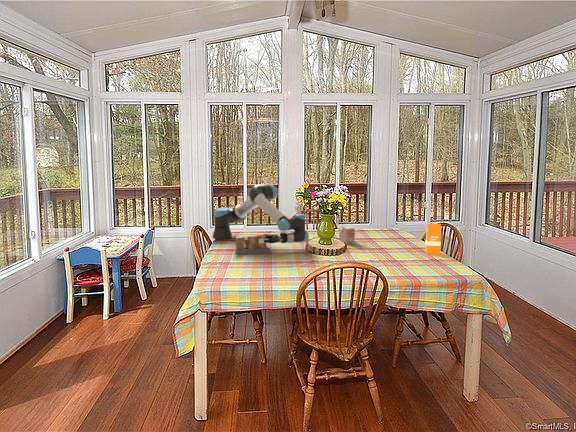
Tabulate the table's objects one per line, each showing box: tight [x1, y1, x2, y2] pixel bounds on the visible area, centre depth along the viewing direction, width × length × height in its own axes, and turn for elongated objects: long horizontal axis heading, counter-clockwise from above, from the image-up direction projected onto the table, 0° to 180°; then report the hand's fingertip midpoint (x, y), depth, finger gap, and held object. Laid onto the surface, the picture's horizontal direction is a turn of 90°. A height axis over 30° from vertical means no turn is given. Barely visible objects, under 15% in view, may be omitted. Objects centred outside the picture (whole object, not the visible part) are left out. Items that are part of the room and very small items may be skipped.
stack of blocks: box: [338, 225, 356, 246], centre depth 340 cm, size 21×6×12 cm, turn 8°
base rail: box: [234, 235, 271, 256], centre depth 307 cm, size 22×9×11 cm, turn 107°
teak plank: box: [245, 234, 267, 249], centre depth 308 cm, size 14×4×10 cm, turn 107°
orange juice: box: [424, 223, 442, 255], centre depth 304 cm, size 8×9×20 cm
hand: (256, 239), depth 307 cm, fingers open, 13 cm apart
